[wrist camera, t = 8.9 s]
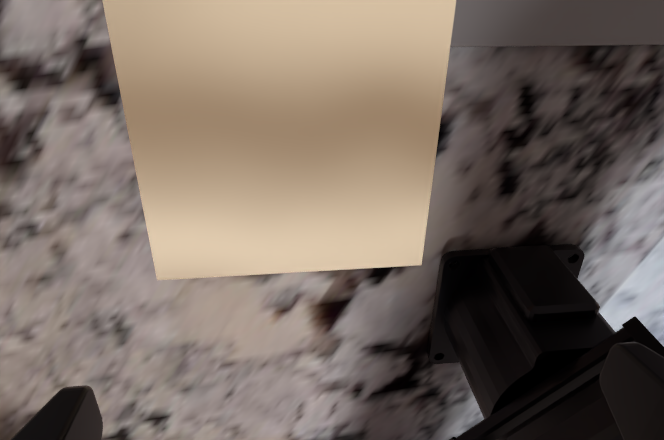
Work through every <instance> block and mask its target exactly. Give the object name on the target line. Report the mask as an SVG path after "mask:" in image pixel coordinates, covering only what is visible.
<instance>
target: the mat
mask: <svg viewBox="0 0 664 440" xmlns="http://www.w3.org/2000/svg"><path fill="white" fill-rule="evenodd" d="M588 45H664V0H456V7H455V14H454V22H453V29H452V37H451V45H450V47H496V46H588Z"/></svg>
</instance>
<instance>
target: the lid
mask: <svg viewBox="0 0 664 440" xmlns="http://www.w3.org/2000/svg"><path fill="white" fill-rule="evenodd" d="M103 6H104V11H105V16H106V21H107V26H108V31H109V36H110V41H111V46H112V52H113V57H114V62H115V67H116V72H117V77H118V82H119V87H120V93H121V98H122V103H123V108H124V113H125V118H126V123H127V128H128V133H129V139H130V144H131V149H132V154H133V159H134V164H135V169H136V174H137V179H138V185H139V190H140V195H141V200H142V205H143V210H144V215H145V220H146V226H147V231H148V236H149V241H150V246H151V251H152V256H153V261H154V266H155V272H156V277H157V280H169V279H187V278H205V277H222V276H240V275H258V274H275V273H293V272H310V271H328V270H346V269H363V268H381V267H398V266H416V265H421V264H422V257H423V249H424V242H425V234H426V226H427V219H428V211H429V204H430V196H431V188H432V181H433V173H434V166H435V158H436V151H437V143H438V135H439V128H440V120H441V113H442V105H443V98H444V90H445V82H446V75H447V67H448V60H449V52H450V45H451V37H452V29H453V22H454V14H455V7H456V0H103Z"/></svg>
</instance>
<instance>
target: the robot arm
mask: <svg viewBox="0 0 664 440" xmlns="http://www.w3.org/2000/svg"><path fill="white" fill-rule="evenodd" d="M573 254H574V255H573ZM571 255H573V256H572V257H570V256H571ZM569 257H570V258H569ZM583 259H584V253H583V251H582V250H581V249H580V248H579V247H578V246H576V245H572V244H570V245H552V246H548V245H537V246H519V247H501V248H494V249H480V250H462V251H451V252H448V253H446V254H445V255H444V256H443V257H442V259H441V263H440V269H439V276H438V282H437V289H436V296H435V302H434V309H433V315H432V322H431V328H430V335H429V342H428V348H427V355H428V357H429V360H430V361H431V362H432V363H434V364H443V363H455V362H460V364H461V367H462V369H463V371H464V373H465V376H466V378H467V380H468V383H469V385H470V387H471V389H472V392H473V394H474V396H475V399H476V401H477V403H478V405H479V408H480V410H481V412H482V415H483V417H484V420H483V421H481V422H480V423H478V424H477V425H475V426H474V427H472V428H471V429H469V430H468V431H466V432H464V433H463V434H461V435H460V436H458V437H457V438H455V437H452V438H451V439H449V440H664V347H663V346H662V345H661V344H660V342H659V341H658V340H657V339H656V338H655V337H654V336H653V335H652V334H651V333H650V332H649V331H648V330H647V329H646V327H645V326H644V325H643V324H642V323H641V322H640V321H639V320H638V319H637V318H636V317H633V318H632V319H630V320H629V321H627V322H626V323H624V324H623V325H622V326H623V328H622V329H620V330H619V331H617V332H615V331H614V330H613V329H612V327H611V326H610V325H609V324H608V323H607V322H606V320H605V319H604V318H603V317H602V316H601V314H600V313H599V312H598V311H599V308H600V306H599V304H598V303H597V302H596V300H595V299H594V298H593V297H592V296H591V295H590V293H589V292H588V291H587V290H586V289H585V288H584V286H583V285H582V284H581V283H580V282H579V281H578V279H577V278H578V275H579V272H580V269H581V266H582V263H583ZM453 261H457V262H456V263H455V264H453V265H450V263H451V262H453ZM437 353H439V354H437ZM102 431H103V422H102V416H101V413H100V410H99V407H98V404H97V401H96V398H95V395H94V392H93V390H92V388H91V387H90V386H73V387H65V388H63V389H61V390H60V391H59V392H58V393H57V394H56V395H55V396H54V397H53V398H52V399H51V400H50V401H49V402H48V403H47V404H46V405H45V406H44V407H43V408H42V409H41V410H40V411H39V412H38V413H37V414H36V415H35V416H34V417H33V418H32V419H31V420H30V421H29V422H28V423H27V424H26V425H25V426H24V427H23V428H22V429H21V430H20V431H19V432H18V433H17V434H16V435H15V436H14V437H13V438H12V439H11V440H101V438H102Z"/></svg>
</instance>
